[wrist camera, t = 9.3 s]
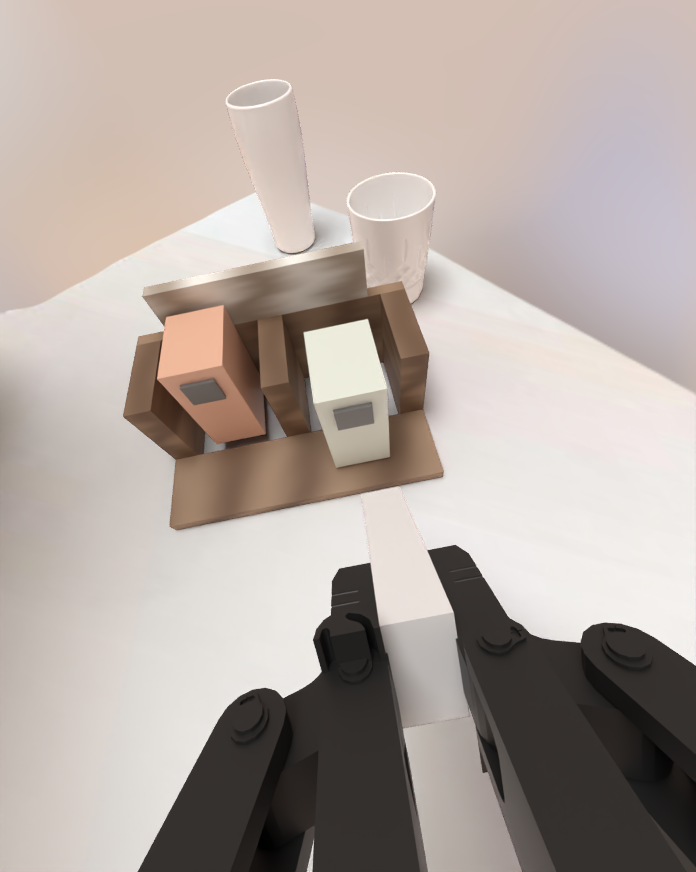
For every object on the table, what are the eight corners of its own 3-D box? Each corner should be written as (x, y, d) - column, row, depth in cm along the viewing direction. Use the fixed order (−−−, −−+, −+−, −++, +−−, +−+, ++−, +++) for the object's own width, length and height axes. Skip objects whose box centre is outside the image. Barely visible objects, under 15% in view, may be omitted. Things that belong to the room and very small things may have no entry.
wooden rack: (176, 529, 29) (54, 468, 19) (187, 394, 36) (104, 296, 26) (442, 476, 29) (467, 383, 18) (400, 350, 36) (402, 232, 25)
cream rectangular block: (336, 471, 29) (314, 408, 21) (326, 407, 32) (303, 332, 24) (390, 460, 28) (388, 392, 21) (375, 397, 32) (367, 319, 24)
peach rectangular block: (216, 447, 31) (156, 382, 23) (218, 390, 34) (165, 317, 26) (265, 436, 31) (222, 368, 23) (262, 381, 34) (223, 305, 26)
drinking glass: (261, 247, 48) (210, 100, 35) (298, 222, 50) (263, 74, 37) (293, 265, 45) (252, 113, 32) (332, 238, 47) (307, 84, 34)
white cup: (429, 267, 42) (438, 170, 33) (424, 315, 38) (432, 219, 29) (363, 267, 43) (354, 173, 34) (351, 313, 39) (339, 221, 31)
